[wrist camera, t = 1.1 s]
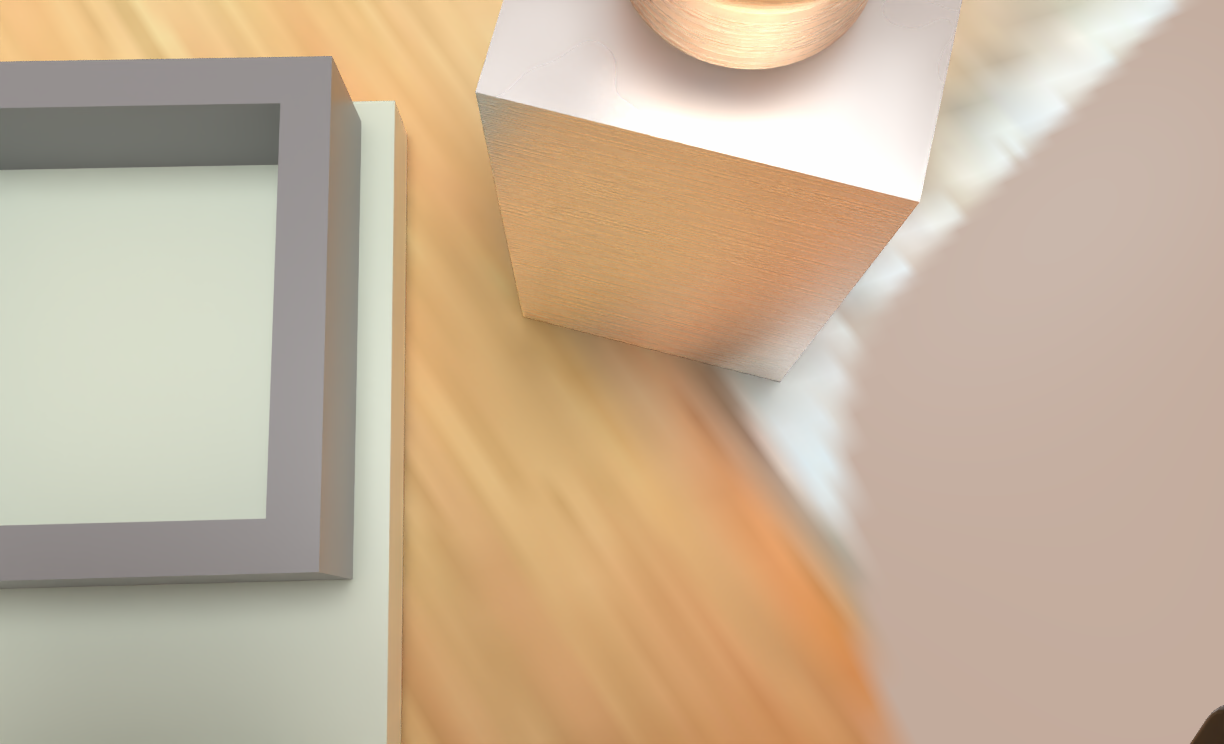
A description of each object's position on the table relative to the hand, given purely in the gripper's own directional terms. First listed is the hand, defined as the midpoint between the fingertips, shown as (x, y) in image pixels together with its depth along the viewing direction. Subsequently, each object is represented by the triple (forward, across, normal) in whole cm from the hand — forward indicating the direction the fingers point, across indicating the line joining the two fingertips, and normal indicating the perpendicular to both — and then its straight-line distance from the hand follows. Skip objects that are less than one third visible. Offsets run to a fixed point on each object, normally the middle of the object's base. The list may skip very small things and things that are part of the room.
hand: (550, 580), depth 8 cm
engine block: (+15, 0, +4) cm, 15 cm away
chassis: (+9, +8, +10) cm, 15 cm away
